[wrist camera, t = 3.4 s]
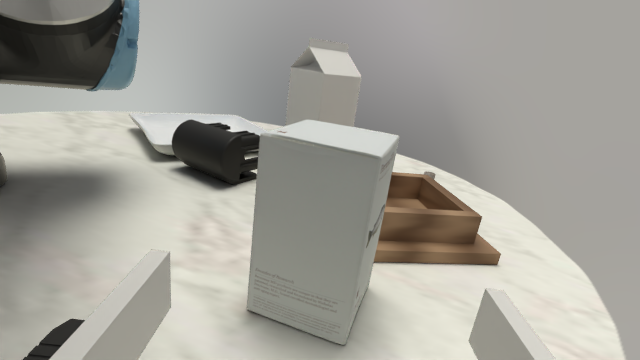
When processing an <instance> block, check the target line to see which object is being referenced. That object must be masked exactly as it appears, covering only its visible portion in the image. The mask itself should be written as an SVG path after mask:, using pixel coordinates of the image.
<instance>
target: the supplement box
mask: <svg viewBox="0 0 640 360" xmlns="http://www.w3.org/2000/svg"><path fill="white" fill-rule="evenodd" d="M398 141H399V136H397V135H392V134H388V133H382V132H377V131H371V130H367V129H361V128H355V127H350V126H344V125H338V124H333V123H327V122H321V121H315V120H303V121H300V122H297V123H294V124H290V125H287V126H283V127H281V128H277V129H274V130H271V131H267V132H264V133H261V134H260V142H259V155H258V169H257V182H256V195H255V209H254V222H253V235H252V248H251V262H250V274H249V286H248V301H247V309H248V310H250V311H252V312H255V313H258V314H260V315H262V316H265V317H268V318H271V319H273V320H276V321H278V322H281V323H283V324H286V325H289V326H292V327H294V328H297V329H299V330H302V331H305V332H308V333H310V334H313V335H315V336H318V337H321V338H324V339H326V340H329V341H332V342H335V343H338V344H341V345H344V344H346V342H347V339H348V336H349V332H350V329H351V326H352V323H353V321H354V318H355V315H356V313H357V310H358V308H359V306H360V303H361V301H362V298H363V296H364V294H365V292H366V290H367V288H368V286H369V282H370V277H371V272H372V267H373V262H374V258H375V253H376V249H377V244H378V239H379V234H380V229H381V225H382V220H383V215H384V210H385V205H386V200H387V195H388V190H389V185H390V180H391V175H392V170H393V165H394V160H395V155H396V150H397V146H398Z"/></svg>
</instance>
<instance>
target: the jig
mask: <svg viewBox="0 0 640 360" xmlns="http://www.w3.org/2000/svg"><path fill="white" fill-rule="evenodd" d="M434 178H435V174H434V173H432V172H424V175H423V174H409V173H396V172H392V175H391V180H390V185H389V190H388V195H387V200H386V205H385V210H384V215H383V220H382V225H381V229H380V234H379V239H378V244H377V249H376V253H375V258H374V262H408V263H451V264H495V265H497V264H498V261H499V258H500V255H501V254H500V253H499V252H498V251H497V250H496V249H495V248H494V247H492V246H491V245H490V244H489V243H488V242H487V241H485V240H484V239H483V238H482V237H481V236H480V235H478V234H477V232H478V229H479V225H480V222H481V219H482V216H480V215H479V214H478V213H476V212H475V211H474V210H472V209H471V208H470V207H469V206H467V205H466V204H465V203H463V202H462V201H461V200H459V199H458V198H457V197H456V196H454V195H453V194H452V193H450V192H449V191H448V190H446V189H445V188H444V187H442V186H441V185H440V184H439V183H437V182H436V181H435V180H434Z"/></svg>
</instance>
